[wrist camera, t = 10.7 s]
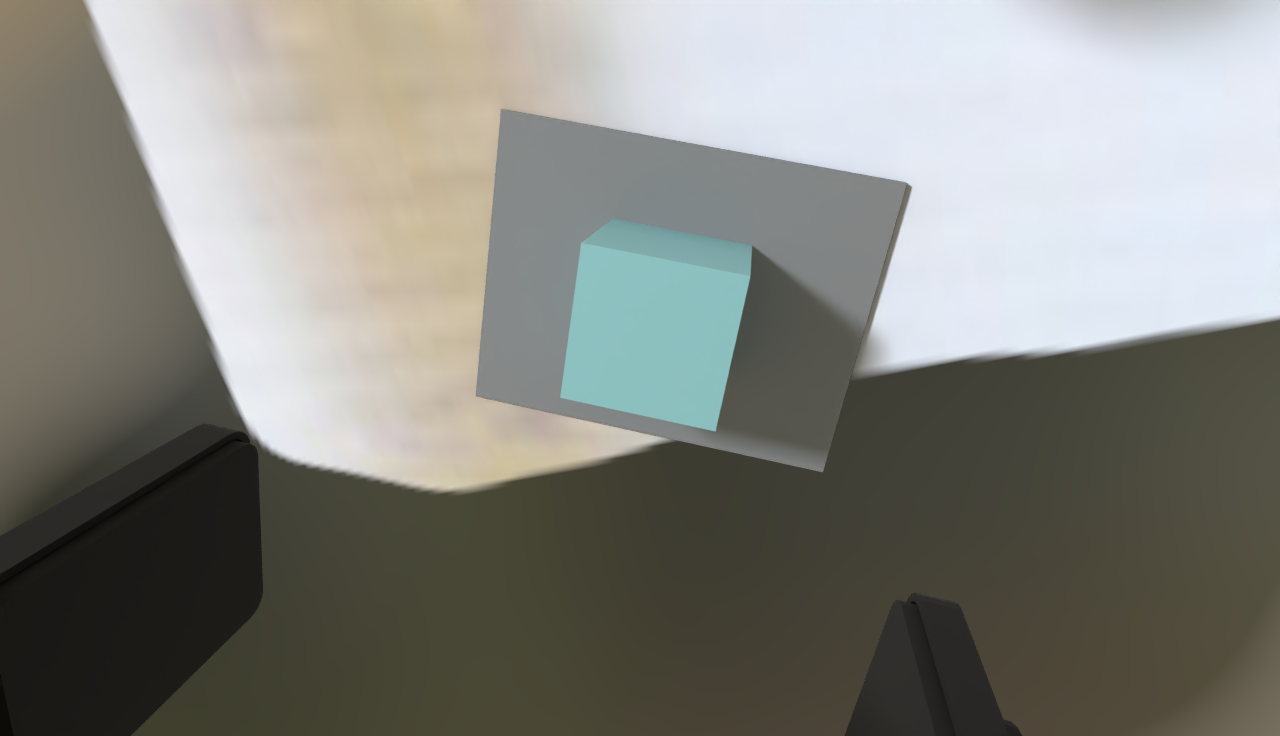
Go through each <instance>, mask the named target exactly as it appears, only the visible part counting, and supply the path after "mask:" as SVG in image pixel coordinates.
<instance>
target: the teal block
mask: <svg viewBox="0 0 1280 736" xmlns="http://www.w3.org/2000/svg"><path fill="white" fill-rule="evenodd" d="M751 256H752V245H748V244H743V243H737V242H732V241H727V240H722V239H717V238H712V237H706V236H701V235H696V234H691V233H686V232H681V231H675V230H670V229H665V228H660V227H655V226H650V225H644V224H639V223H634V222H629V221H624V220H619V219H612V220H611V221H610V222H608V223H607V224H606V225H604V226H603V227H602V228H600V229H599V230H598V231H596V232H595V233H594V234H592V235H591V236H590V237H588V238H587V239H586V240H584V241H583V242H582V243H581V248H580V256H579V263H578V270H577V278H576V285H575V293H574V300H573V307H572V315H571V322H570V329H569V337H568V344H567V351H566V359H565V366H564V374H563V381H562V388H561V396H560V398H564V399H568V400H573V401H578V402H582V403H587V404H591V405H596V406H601V407H605V408H610V409H614V410H619V411H624V412H628V413H633V414H637V415H642V416H647V417H651V418H656V419H660V420H665V421H670V422H674V423H679V424H683V425H688V426H693V427H697V428H702V429H706V430H711V431H716V427H717V422H718V418H719V414H720V409H721V405H722V400H723V396H724V391H725V387H726V382H727V378H728V374H729V369H730V365H731V360H732V356H733V351H734V347H735V343H736V338H737V334H738V329H739V325H740V320H741V316H742V311H743V307H744V303H745V298H746V294H747V289H748V285H749V280H750V275H751Z"/></svg>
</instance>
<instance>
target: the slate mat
mask: <svg viewBox="0 0 1280 736" xmlns="http://www.w3.org/2000/svg"><path fill="white" fill-rule="evenodd" d="M906 186H907V183H906V182H900V181H895V180H889V179H884V178H878V177H873V176H867V175H862V174H856V173H851V172H845V171H840V170H834V169H829V168H823V167H818V166H812V165H807V164H801V163H796V162H790V161H785V160H779V159H774V158H768V157H763V156H757V155H752V154H746V153H741V152H735V151H730V150H724V149H719V148H713V147H708V146H702V145H697V144H691V143H686V142H680V141H675V140H669V139H664V138H658V137H653V136H647V135H642V134H636V133H631V132H625V131H620V130H614V129H609V128H603V127H598V126H592V125H587V124H581V123H576V122H570V121H565V120H559V119H554V118H548V117H543V116H537V115H532V114H526V113H521V112H515V111H510V110H504V109H501V117H500V128H499V139H498V150H497V162H496V173H495V184H494V196H493V207H492V218H491V230H490V241H489V252H488V263H487V275H486V286H485V297H484V309H483V320H482V331H481V343H480V354H479V365H478V376H477V388H476V396H477V397H482V398H487V399H491V400H496V401H500V402H505V403H509V404H514V405H519V406H523V407H528V408H532V409H537V410H541V411H546V412H550V413H555V414H560V415H564V416H569V417H573V418H578V419H582V420H587V421H592V422H596V423H601V424H605V425H610V426H614V427H619V428H624V429H628V430H633V431H637V432H642V433H646V434H651V435H655V436H660V437H665V438H669V439H674V440H678V441H683V442H687V443H692V444H697V445H701V446H706V447H710V448H715V449H720V450H724V451H729V452H733V453H738V454H742V455H747V456H751V457H756V458H760V459H765V460H770V461H774V462H779V463H783V464H788V465H792V466H797V467H802V468H806V469H811V470H815V471H820V472H823V470H824V467H825V463H826V460H827V457H828V453H829V450H830V446H831V443H832V439H833V436H834V433H835V429H836V426H837V422H838V419H839V415H840V412H841V409H842V405H843V402H844V398H845V395H846V391H847V388H848V384H849V381H850V378H851V374H852V371H853V367H854V364H855V361H856V357H857V354H858V350H859V347H860V343H861V340H862V337H863V333H864V330H865V326H866V323H867V319H868V316H869V313H870V309H871V306H872V302H873V299H874V295H875V292H876V289H877V285H878V282H879V278H880V275H881V271H882V268H883V265H884V261H885V258H886V254H887V251H888V247H889V244H890V241H891V237H892V234H893V230H894V227H895V223H896V220H897V217H898V213H899V210H900V206H901V203H902V199H903V196H904V193H905V189H906ZM612 219H619V220H624V221H629V222H634V223H639V224H644V225H650V226H655V227H660V228H665V229H670V230H675V231H681V232H686V233H691V234H696V235H701V236H706V237H712V238H717V239H722V240H727V241H732V242H737V243H743V244H748V245H752V256H751V275H750V280H749V285H748V289H747V294H746V298H745V303H744V307H743V311H742V316H741V320H740V325H739V329H738V334H737V338H736V343H735V347H734V351H733V356H732V360H731V365H730V369H729V374H728V378H727V382H726V387H725V391H724V396H723V400H722V405H721V409H720V414H719V418H718V422H717V427H716V431H711V430H706V429H702V428H697V427H693V426H688V425H683V424H679V423H674V422H670V421H665V420H660V419H656V418H651V417H647V416H642V415H637V414H633V413H628V412H624V411H619V410H614V409H610V408H605V407H601V406H596V405H591V404H587V403H582V402H578V401H573V400H568V399H564V398H560V396H561V388H562V381H563V374H564V366H565V359H566V351H567V344H568V337H569V329H570V322H571V315H572V307H573V300H574V293H575V285H576V278H577V270H578V263H579V256H580V248H581V243H582V242H583V241H584V240H586V239H587V238H588V237H590V236H591V235H592V234H594V233H595V232H596V231H598V230H599V229H600V228H602V227H603V226H604V225H606V224H607V223H608V222H610V221H611V220H612Z"/></svg>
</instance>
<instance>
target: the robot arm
mask: <svg viewBox="0 0 1280 736" xmlns="http://www.w3.org/2000/svg"><path fill="white" fill-rule="evenodd" d="M260 526H261V525H260V500H259V471H258V453H257V449H256V448H255V446H253V445H252V444H250V440H249V438H248V437H247V435H246V434H244V433H243V432H240V431H236V430H232V429H227V428H223V427H219V426H215V425H211V424H202V425H199V426H196V427H195V428H193V429H191V430H189V431H187V432H185V433H184V434H182V435H180V436H178V437H177V438H175V439H173V440H171V441H169V442H168V443H166V444H164V445H162V446H160V447H159V448H157V449H155V450H153V451H151V452H150V453H148V454H146V455H144V456H143V457H141V458H139V459H137V460H136V461H134V462H132V463H130V464H128V465H126V466H125V467H123V468H121V469H119V470H118V471H116V472H114V473H112V474H110V475H109V476H107V477H105V478H103V479H101V480H100V481H98V482H96V483H94V484H92V485H91V486H89V487H87V488H85V489H84V490H82V491H80V492H78V493H76V494H75V495H73V496H71V497H69V498H68V499H66V500H64V501H62V502H60V503H58V504H57V505H55V506H53V507H51V508H49V509H48V510H46V511H44V512H43V513H41V514H39V515H37V516H35V517H33V518H32V519H30V520H28V521H26V522H25V523H23V524H21V525H19V526H17V527H16V528H14V529H12V530H10V531H8V532H7V533H5V534H3V535H1V536H0V736H131V735H132V734H133V733H134V732H135V731H136V730H137V729H138V728H139V727H140V726H141V725H142V724H143V723H144V722H145V721H146V720H147V719H148V718H149V717H150V716H151V715H152V714H153V713H154V712H155V711H156V710H157V709H158V708H159V707H160V706H161V705H162V704H163V703H164V702H165V701H166V700H167V699H168V698H170V696H172V695H173V693H174V692H176V691H177V690H178V689H179V688H180V687H181V686H182V685H183V683H185V682H186V681H187V680H188V679H189V678H190V677H191V676H192V675H193V674H194V673H195V672H196V671H197V670H198V669H199V668H200V667H201V666H202V665H203V664H204V663H205V662H206V661H207V660H208V659H209V658H210V657H211V656H212V655H213V654H214V653H215V652H216V651H217V650H218V649H219V648H220V647H221V646H222V645H223V644H224V643H225V642H226V641H227V640H228V639H229V638H230V637H231V636H232V635H233V634H234V633H236V632H237V630H238V629H240V628H241V627H242V626H243V625H244V624H245V623H246V622H247V621H248V620H249V619H250V618H251V617H252V615H253V614H254V613H255V611H256V610H257V608H258V606H259V603H260V602H261V598H262V594H263V580H262V553H261V552H262V551H261V527H260ZM845 736H1022V735H1021V733H1020V731H1019V729H1018V727H1016V726H1015V725H1014V724H1013V723H1012V722H1010V721H1007V720H1003V718H1002V715H1001V712H1000V710H999V707H998V705H997V702H996V699H995V696H994V694H993V691H992V688H991V686H990V683H989V681H988V678H987V675H986V673H985V670H984V667H983V665H982V662H981V659H980V657H979V654H978V652H977V649H976V646H975V644H974V641H973V638H972V636H971V633H970V631H969V628H968V625H967V622H966V620H965V618H964V615H963V612H962V610H961V608H960V606H959V604H957V603H955V602H951V601H947V600H943V599H939V598H935V597H930V596H927V595H922V594H918V593H913V594H911V595H910V596H909V598H908V600H907V602H904V601H901V600H896V601H895V602H894V603H893V605H892V607H891V609H890V612H889V615H888V617H887V620H886V623H885V626H884V629H883V631H882V634H881V637H880V639H879V642H878V645H877V648H876V651H875V654H874V656H873V659H872V662H871V664H870V667H869V670H868V673H867V675H866V678H865V681H864V684H863V686H862V689H861V692H860V695H859V698H858V700H857V703H856V706H855V709H854V711H853V714H852V717H851V720H850V722H849V725H848V728H847V731H846V733H845Z"/></svg>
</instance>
